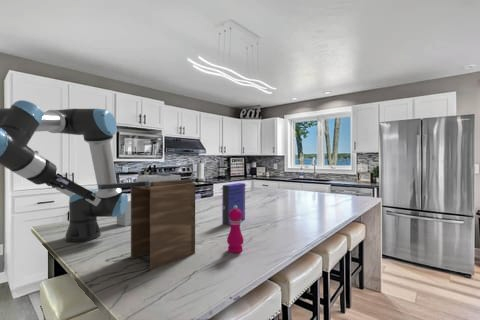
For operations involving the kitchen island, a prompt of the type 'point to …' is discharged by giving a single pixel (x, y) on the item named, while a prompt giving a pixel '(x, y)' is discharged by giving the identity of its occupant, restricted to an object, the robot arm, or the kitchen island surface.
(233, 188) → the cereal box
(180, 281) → the kitchen island surface
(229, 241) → the pepper mill
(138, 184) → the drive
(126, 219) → the supplement box
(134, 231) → the stand
